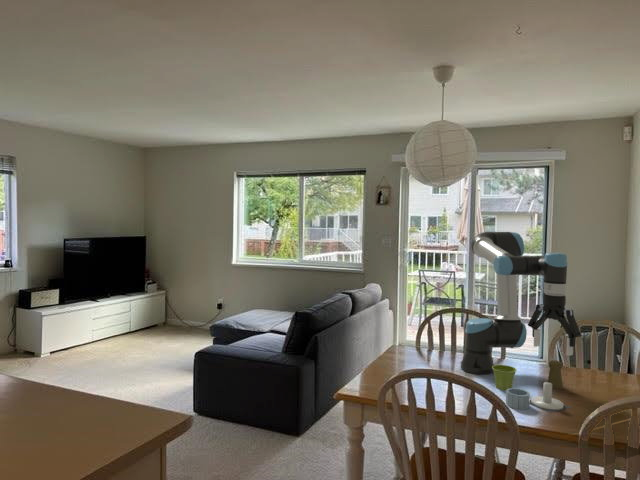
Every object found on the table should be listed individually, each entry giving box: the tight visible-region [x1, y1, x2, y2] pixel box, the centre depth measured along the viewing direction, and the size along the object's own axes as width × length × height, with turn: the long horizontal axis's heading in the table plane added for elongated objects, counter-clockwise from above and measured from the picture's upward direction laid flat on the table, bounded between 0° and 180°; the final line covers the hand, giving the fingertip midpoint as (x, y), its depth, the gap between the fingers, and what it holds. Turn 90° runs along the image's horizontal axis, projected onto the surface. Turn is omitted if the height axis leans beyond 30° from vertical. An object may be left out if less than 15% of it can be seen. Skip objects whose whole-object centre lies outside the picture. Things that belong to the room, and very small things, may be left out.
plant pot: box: [492, 364, 517, 391], centre depth 196 cm, size 9×9×9 cm
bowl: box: [505, 387, 531, 411], centre depth 177 cm, size 8×8×6 cm
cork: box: [547, 359, 564, 390], centre depth 199 cm, size 6×6×11 cm
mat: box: [530, 399, 573, 414], centre depth 178 cm, size 12×12×1 cm
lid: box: [530, 381, 565, 411], centre depth 178 cm, size 11×11×8 cm
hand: (552, 350), depth 178 cm, fingers open, 13 cm apart
